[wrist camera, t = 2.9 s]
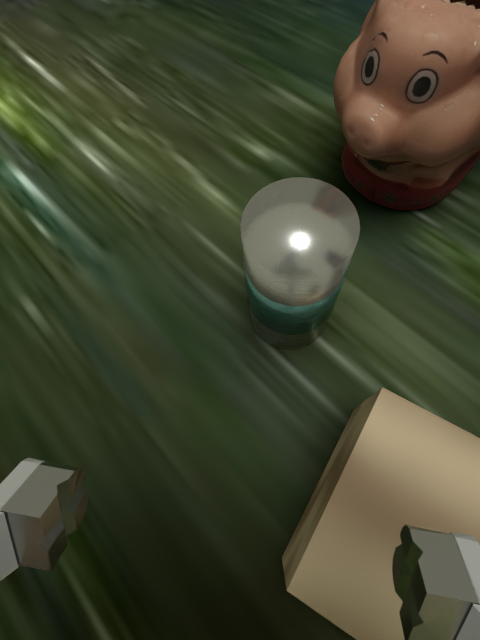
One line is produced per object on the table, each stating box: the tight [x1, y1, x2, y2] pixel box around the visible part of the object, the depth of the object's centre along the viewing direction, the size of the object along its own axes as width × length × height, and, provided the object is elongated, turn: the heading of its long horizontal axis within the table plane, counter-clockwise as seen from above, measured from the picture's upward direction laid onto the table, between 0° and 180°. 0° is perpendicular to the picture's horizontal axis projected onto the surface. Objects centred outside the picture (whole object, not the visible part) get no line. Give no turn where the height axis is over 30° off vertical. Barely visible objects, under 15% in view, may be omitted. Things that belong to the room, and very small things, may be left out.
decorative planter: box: [334, 0, 480, 210], centre depth 27 cm, size 20×12×14 cm, turn 143°
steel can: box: [241, 177, 360, 349], centre depth 24 cm, size 6×6×11 cm
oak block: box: [282, 387, 480, 640], centre depth 20 cm, size 10×10×7 cm
